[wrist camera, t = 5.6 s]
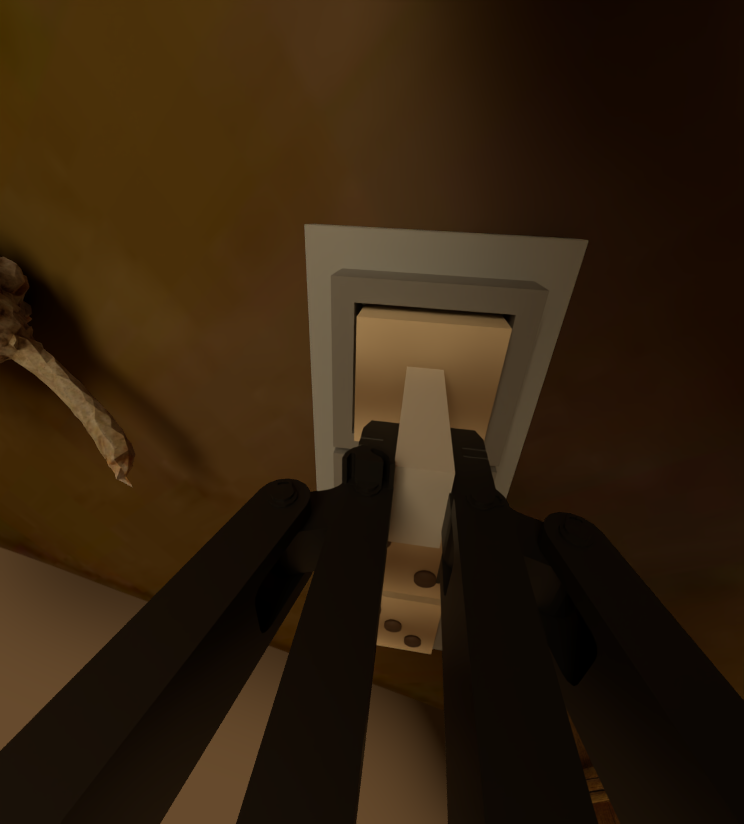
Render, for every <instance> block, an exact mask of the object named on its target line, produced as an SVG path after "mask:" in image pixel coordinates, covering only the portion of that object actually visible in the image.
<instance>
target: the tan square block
mask: <svg viewBox="0 0 744 824" xmlns="http://www.w3.org/2000/svg"><path fill="white" fill-rule="evenodd" d="M511 332H512V328H511V327H510V326H509V324H508V323H507V321H506V320H505V319H504V317H503V316H502V315H501V314H499V313H486V312H473V311H460V310H447V309H434V308H421V307H408V306H395V305H382V304H369V303H366V304H365V305H364V307H363V308H362V310H361V311H360V313H359V314H358V315H357V328H356V375H355V421H354V441H360V438H361V434H362V430H363V427H364V426H366V425H367V424H368V423H369V422H370V421H371V420H374V421H383V422H392V423H400V416H401V409H402V401H403V393H404V386H405V378H406V370H407V366H408V367H419V368H429V369H440V370H444V377H445V386H446V395H447V404H448V413H449V422H450V428H457V429H466V430H475V431H476V432H477V433H478V434H479V435H480V437H481V438H482V439H483V440H485V436H486V432H487V428H488V424H489V420H490V416H491V412H492V408H493V404H494V400H495V396H496V392H497V388H498V384H499V380H500V376H501V372H502V368H503V364H504V360H505V356H506V352H507V348H508V344H509V340H510V336H511Z"/></svg>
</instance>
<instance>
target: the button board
mask: <svg viewBox="0 0 744 824" xmlns="http://www.w3.org/2000/svg"><path fill="white" fill-rule="evenodd" d="M588 241H589V240H584V239H577V238H559V237H540V236H522V235H504V234H486V233H468V232H450V231H432V230H414V229H396V228H377V227H359V226H341V225H323V224H306V225H305V246H306V267H307V289H308V310H309V331H310V352H311V373H312V395H313V416H314V437H315V458H316V479H317V491H321V490H327V489H331V488H334V487H337V486H339V485H340V484H342V457H343V455H344V454H345V453H346V452H347V451H348V450H350V449H352V448H353V447H357V446H358V444H359V441H354V421H355V375H356V328H357V315H358V314H359V313H360V311H361V310H362V308H363V307H364V305H365V304H366V303H369V304H382V305H395V306H408V307H421V308H434V309H447V310H460V311H473V312H486V313H499V314H501V315H502V316H503V317H504V319H505V320H506V321H507V323H508V324H509V326H510V327H511V328H512V332H511V336H510V340H509V344H508V348H507V352H506V356H505V360H504V364H503V368H502V372H501V376H500V380H499V384H498V388H497V392H496V396H495V400H494V404H493V408H492V412H491V416H490V420H489V424H488V428H487V432H486V436H485V440H484V444H485V448H486V452H487V456H488V460H489V464H490V468H491V472H492V476H493V480H494V484H495V487H496V490H498V491H499V492H500V493H501V494H502V495H503V496H504V497H505V498H507V494H508V491H509V488H510V485H511V482H512V479H513V476H514V473H515V469H516V466H517V463H518V460H519V457H520V454H521V451H522V448H523V444H524V441H525V438H526V435H527V432H528V429H529V426H530V423H531V419H532V416H533V413H534V410H535V407H536V404H537V401H538V398H539V394H540V391H541V388H542V385H543V382H544V379H545V376H546V373H547V369H548V366H549V363H550V360H551V357H552V354H553V351H554V348H555V344H556V341H557V338H558V335H559V332H560V329H561V326H562V323H563V319H564V316H565V313H566V310H567V307H568V304H569V301H570V298H571V294H572V291H573V288H574V285H575V282H576V279H577V276H578V273H579V269H580V266H581V263H582V260H583V257H584V254H585V251H586V248H587V244H588ZM432 649H437V650H442V628H441V616H440V620H439V624H438V628H437V632H436V636H435V640H434V644H433V648H432Z"/></svg>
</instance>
